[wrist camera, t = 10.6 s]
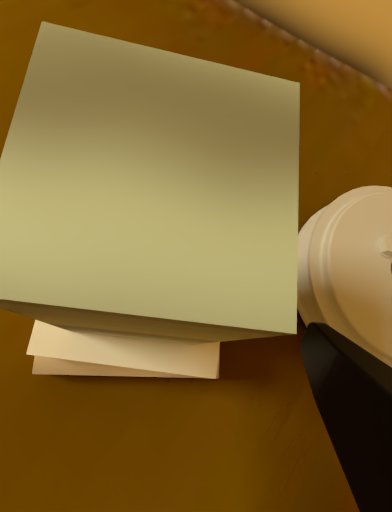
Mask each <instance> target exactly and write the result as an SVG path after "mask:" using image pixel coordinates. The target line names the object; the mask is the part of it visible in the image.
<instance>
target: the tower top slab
mask: <svg viewBox="0 0 392 512" xmlns="http://www.w3.org/2000/svg"><path fill="white" fill-rule="evenodd" d="M219 347H220V342H214V343H204V344H194V345H193V344H184V343H175V342H166V341H156V340H147V339H138V338H129V337H119V336H110V335H101V334H92V333H83V332H73V331H68V330H65V329H62V328H59V327H56V326H53V325H50V324H47V323H44V322H41V321H38V320H35V323H34V327H33V331H32V335H31V338H30V342H29V346H28V350H27V353H26V354H28V355H36V356H44V357H51V358H59V359H66V360H74V361H82V362H89V363H97V364H104V365H112V366H120V367H127V368H135V369H143V370H150V371H158V372H165V373H173V374H181V375H188V376H196V377H203V378H211V379H216V374H217V365H218V356H219Z"/></svg>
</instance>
